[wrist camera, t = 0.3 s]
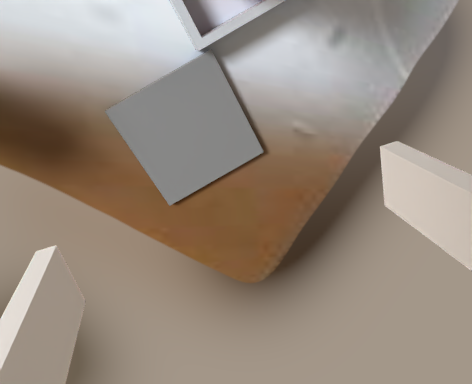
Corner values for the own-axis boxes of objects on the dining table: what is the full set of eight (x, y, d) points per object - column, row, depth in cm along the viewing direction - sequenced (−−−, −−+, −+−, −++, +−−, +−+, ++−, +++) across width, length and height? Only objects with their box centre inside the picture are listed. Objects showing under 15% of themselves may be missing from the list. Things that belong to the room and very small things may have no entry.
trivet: (105, 109, 38) (104, 111, 38) (210, 49, 38) (211, 49, 37) (169, 202, 43) (169, 205, 43) (262, 150, 43) (263, 152, 42)
